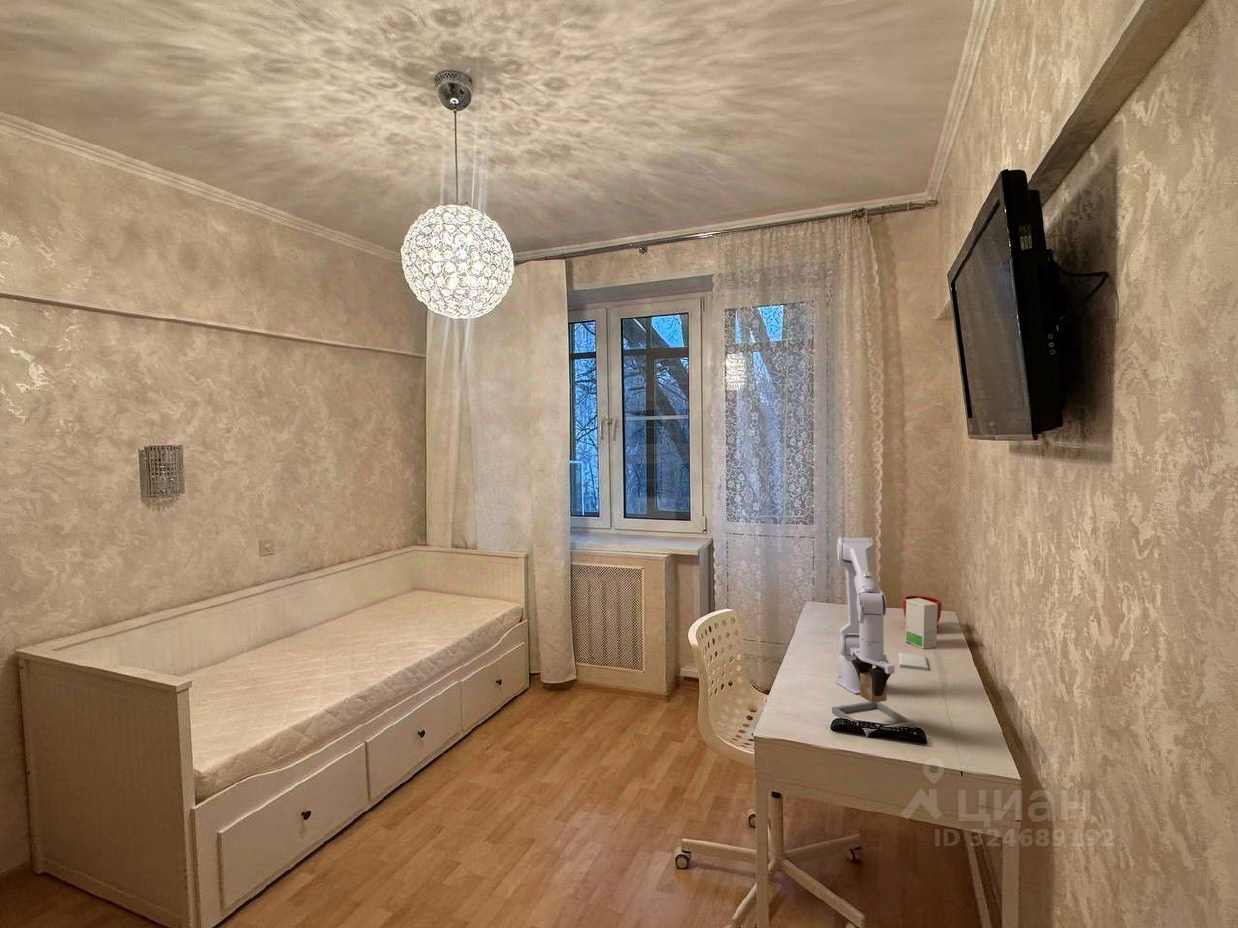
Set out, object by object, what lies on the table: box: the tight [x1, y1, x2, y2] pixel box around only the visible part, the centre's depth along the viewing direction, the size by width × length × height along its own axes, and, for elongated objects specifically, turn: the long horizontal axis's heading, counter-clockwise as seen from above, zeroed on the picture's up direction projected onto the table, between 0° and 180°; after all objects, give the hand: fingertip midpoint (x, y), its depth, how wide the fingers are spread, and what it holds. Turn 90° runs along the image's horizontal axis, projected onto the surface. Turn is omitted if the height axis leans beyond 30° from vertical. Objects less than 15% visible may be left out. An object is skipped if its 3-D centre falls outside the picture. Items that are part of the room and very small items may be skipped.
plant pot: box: [902, 595, 943, 631], centre depth 228 cm, size 13×13×12 cm
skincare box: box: [904, 598, 938, 650], centre depth 212 cm, size 8×7×16 cm
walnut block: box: [859, 672, 888, 703], centre depth 155 cm, size 4×4×6 cm
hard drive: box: [897, 651, 929, 672], centre depth 195 cm, size 2×8×12 cm
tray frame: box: [831, 701, 916, 738], centre depth 155 cm, size 14×14×2 cm
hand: (871, 691), depth 155 cm, fingers closed on walnut block, 4 cm apart
